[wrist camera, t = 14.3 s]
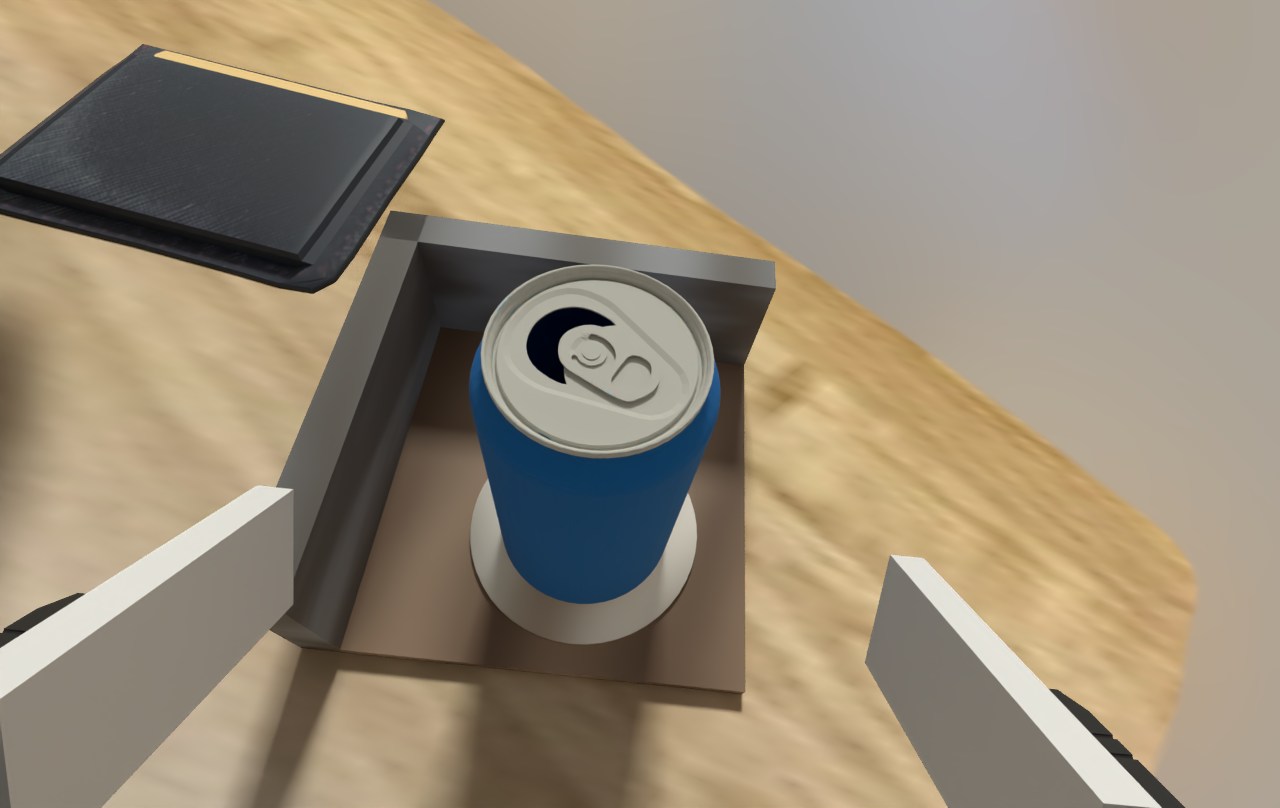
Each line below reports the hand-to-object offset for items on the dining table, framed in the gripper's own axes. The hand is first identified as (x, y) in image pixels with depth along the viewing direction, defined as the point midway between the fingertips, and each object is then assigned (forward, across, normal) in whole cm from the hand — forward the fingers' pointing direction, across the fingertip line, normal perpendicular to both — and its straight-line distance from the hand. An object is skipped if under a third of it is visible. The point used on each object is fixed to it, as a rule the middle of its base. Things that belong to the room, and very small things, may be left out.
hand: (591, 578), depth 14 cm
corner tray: (+13, -2, -2) cm, 14 cm away
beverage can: (+11, 0, -4) cm, 12 cm away
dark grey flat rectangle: (+26, -23, +9) cm, 35 cm away
